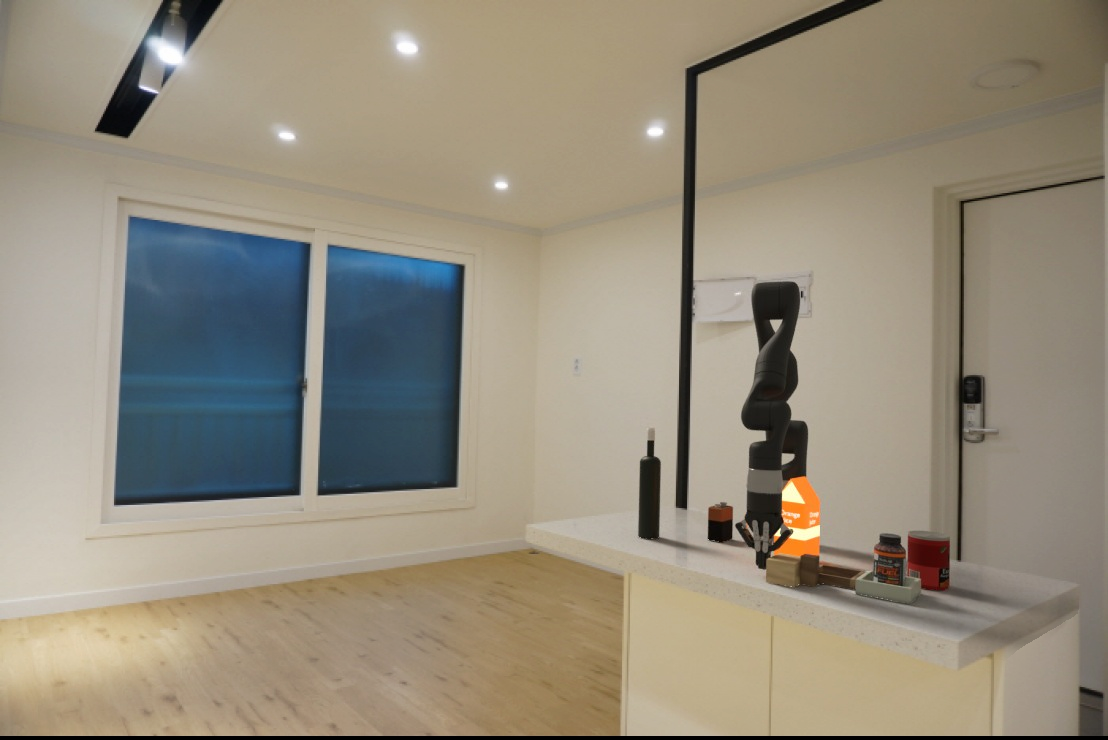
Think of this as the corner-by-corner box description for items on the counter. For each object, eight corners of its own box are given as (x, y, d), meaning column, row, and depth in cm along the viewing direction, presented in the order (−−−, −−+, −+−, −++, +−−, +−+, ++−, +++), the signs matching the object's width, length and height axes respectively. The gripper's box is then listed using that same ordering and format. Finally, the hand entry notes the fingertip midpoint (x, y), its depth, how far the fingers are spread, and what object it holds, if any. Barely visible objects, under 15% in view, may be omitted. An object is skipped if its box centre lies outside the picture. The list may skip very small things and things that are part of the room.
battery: (733, 539, 193) (733, 503, 193) (721, 543, 187) (722, 505, 188) (718, 537, 195) (719, 501, 196) (706, 540, 190) (707, 503, 191)
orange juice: (773, 560, 169) (774, 477, 170) (789, 554, 175) (790, 474, 176) (804, 566, 164) (806, 480, 164) (820, 560, 170) (821, 478, 171)
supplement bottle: (873, 592, 141) (874, 536, 141) (872, 585, 146) (872, 530, 146) (906, 596, 138) (907, 539, 139) (904, 589, 144) (904, 533, 144)
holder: (821, 572, 158) (821, 564, 158) (865, 580, 152) (865, 571, 152) (807, 581, 151) (807, 571, 151) (853, 589, 145) (853, 579, 145)
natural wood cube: (779, 575, 155) (779, 553, 155) (806, 580, 151) (807, 557, 151) (766, 582, 149) (766, 559, 149) (794, 588, 145) (794, 564, 145)
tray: (868, 584, 149) (868, 570, 149) (920, 593, 143) (921, 578, 143) (855, 594, 141) (855, 579, 141) (910, 604, 135) (910, 588, 135)
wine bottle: (644, 534, 197) (646, 427, 198) (662, 537, 193) (665, 428, 194) (634, 537, 192) (636, 427, 193) (653, 540, 189) (655, 428, 190)
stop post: (804, 581, 150) (805, 553, 150) (819, 584, 148) (819, 555, 148) (800, 584, 148) (800, 555, 148) (814, 587, 146) (814, 558, 146)
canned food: (948, 593, 144) (949, 539, 144) (905, 586, 148) (905, 534, 149) (950, 585, 151) (950, 533, 151) (909, 579, 155) (909, 528, 155)
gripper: (800, 491, 154) (798, 570, 153) (742, 485, 162) (740, 560, 161) (788, 494, 148) (787, 577, 147) (729, 487, 156) (727, 566, 155)
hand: (762, 568), depth 154 cm, fingers closed
